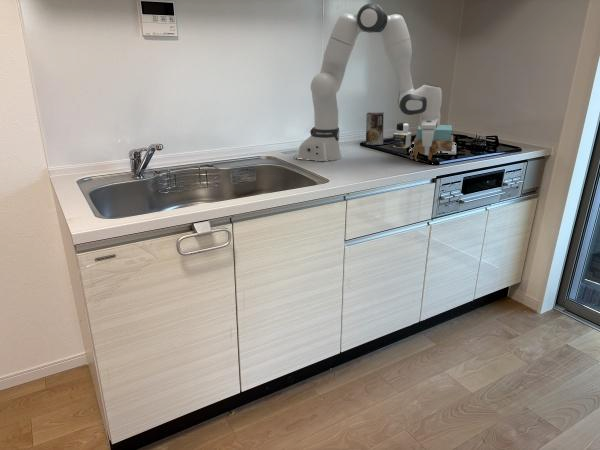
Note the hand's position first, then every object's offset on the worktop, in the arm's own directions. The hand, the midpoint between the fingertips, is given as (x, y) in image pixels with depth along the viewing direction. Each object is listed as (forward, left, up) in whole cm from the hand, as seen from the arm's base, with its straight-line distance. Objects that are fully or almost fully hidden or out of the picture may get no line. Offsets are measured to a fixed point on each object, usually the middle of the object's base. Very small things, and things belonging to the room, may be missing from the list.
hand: (427, 152), depth 202 cm
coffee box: (-29, +32, -4) cm, 44 cm away
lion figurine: (-1, 0, -4) cm, 4 cm away
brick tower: (+2, +25, -4) cm, 25 cm away
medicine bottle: (-14, +27, -4) cm, 31 cm away
